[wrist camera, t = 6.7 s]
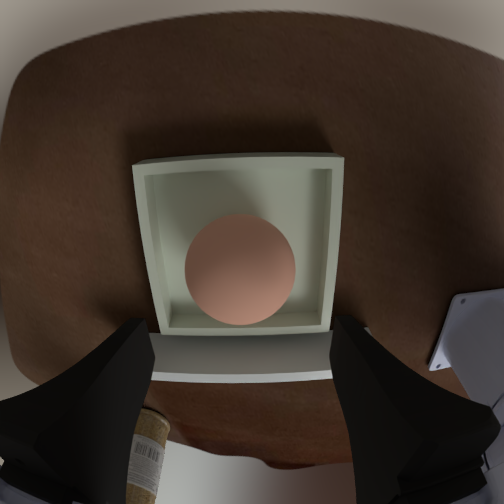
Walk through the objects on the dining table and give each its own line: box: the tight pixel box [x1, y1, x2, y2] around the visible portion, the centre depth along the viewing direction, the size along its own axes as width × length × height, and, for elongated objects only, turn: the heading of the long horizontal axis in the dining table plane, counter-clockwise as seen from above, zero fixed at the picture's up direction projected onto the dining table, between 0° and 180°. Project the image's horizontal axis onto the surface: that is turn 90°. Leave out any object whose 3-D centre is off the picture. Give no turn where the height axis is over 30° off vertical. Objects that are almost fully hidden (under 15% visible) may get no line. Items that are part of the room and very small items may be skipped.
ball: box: [184, 214, 296, 325], centre depth 16 cm, size 6×6×6 cm
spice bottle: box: [126, 408, 170, 504], centre depth 21 cm, size 5×5×14 cm
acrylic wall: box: [149, 327, 372, 383], centre depth 20 cm, size 18×1×4 cm, turn 92°
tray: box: [132, 152, 344, 336], centre depth 18 cm, size 11×11×2 cm
